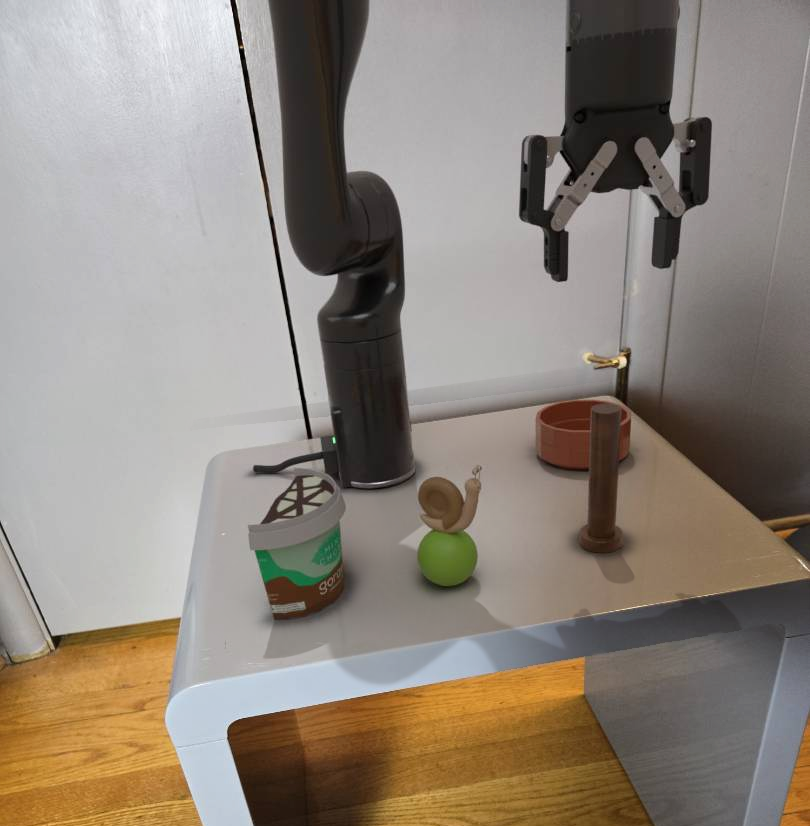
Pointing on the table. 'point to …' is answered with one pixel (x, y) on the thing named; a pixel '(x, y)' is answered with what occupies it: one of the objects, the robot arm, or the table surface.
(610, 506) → the muddler
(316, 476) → the food container
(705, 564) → the table surface
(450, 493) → the snail figurine
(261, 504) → the table surface
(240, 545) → the table surface
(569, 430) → the bowl
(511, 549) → the table surface
